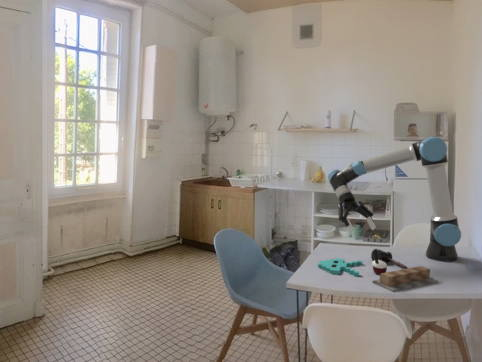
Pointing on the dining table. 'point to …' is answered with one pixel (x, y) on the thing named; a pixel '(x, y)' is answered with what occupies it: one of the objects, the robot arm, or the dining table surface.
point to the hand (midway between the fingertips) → (363, 230)
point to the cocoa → (378, 265)
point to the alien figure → (339, 266)
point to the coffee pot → (386, 257)
